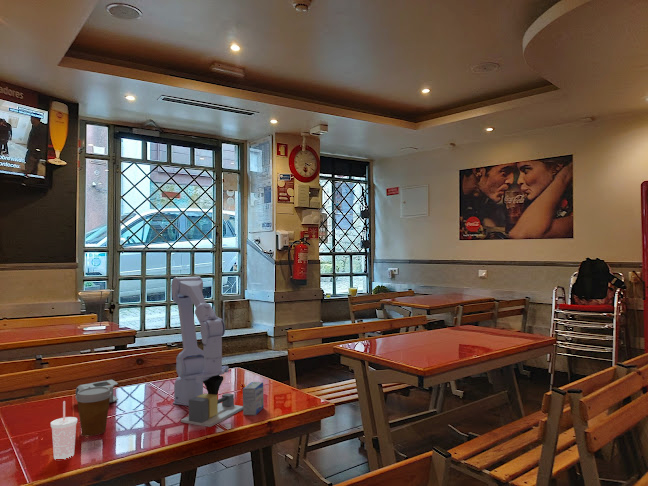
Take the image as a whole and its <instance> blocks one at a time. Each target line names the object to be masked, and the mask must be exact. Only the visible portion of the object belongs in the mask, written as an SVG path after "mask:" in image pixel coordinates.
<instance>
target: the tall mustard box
mask: <svg viewBox="0 0 648 486" xmlns="http://www.w3.org/2000/svg"><path fill="white" fill-rule="evenodd" d="M197 397H199V398H206V399H208V418H211V417H213V416H215V415H217V414H218V400H219V398H218V395H214V394H208V392H207V393H205V392H203V394H202V395H199V396H197Z"/></svg>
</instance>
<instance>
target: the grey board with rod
mask: <svg viewBox="0 0 648 486" xmlns="http://www.w3.org/2000/svg"><path fill="white" fill-rule="evenodd" d="M234 396H235V395H234V393H224V394H222V395H221V398H218V414H217V415H215V416H213V417H211V418H208V399H206V398H199V397H194V398H192V399H189V406H188V416H186V417H184V418H181V419H180V421H181V423H184V424H189V425H196V426H201V427H207V428H212V427H213V426H215V425H216V424H218V423H219V424H220V423H221V422H222V421H224V420H226V419H228V418H229V417H232V416H233V415H235V414H237V413H238V412H241V411H243V405H238V404H237V405H236V404H235V400H234V399H235V397H234Z"/></svg>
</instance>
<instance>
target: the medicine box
mask: <svg viewBox="0 0 648 486" xmlns="http://www.w3.org/2000/svg"><path fill="white" fill-rule="evenodd" d="M264 405H265V404H264V382H262V381H261V382H260V381H251V382H249V383H248V384H247V385H245V386H244V387H243V388H242V406H243V409H242V414H243V416H257V415H258V414H259V413H260V412H261V411H262V410H263V409H264V407H265V406H264Z"/></svg>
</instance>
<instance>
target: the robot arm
mask: <svg viewBox="0 0 648 486" xmlns="http://www.w3.org/2000/svg"><path fill="white" fill-rule="evenodd" d="M203 288H204V282H203V279H202V277H201V276H199V275H197V276H183V277H182V276H181V277H180V276H179V277H178V276H175V277H173V279H172V281H171V285H170V289H171V296H172V301H173V302H174V303H176V304H177V309H178V317H179V324H180V325H179V326H180V331H181V332H180V333H181V341H182V348H183V349H182V350H181V352H179V353H178V354H177V356H176V357H175V360H176V365H175V370H176V374H177V376H178V377H176V379H175V382H174V387H173V390H174V392H173V393H174V394H173V395H174V396H173V397H174V400H173V402H172V404H173V405H181V406H188V407H189V399H192V398H194V397H197V396H199V395H202V394H204V386H205V388H206V391H207V394H214V395H217V396H218V395H219V390H220V388H221V385H222V383H223V381H224V376H223V375H224V374H225V373H229V368H230V367H229V366H228V365H223V343H222V342H223V337H224V335H225V332H226V325H225V322H224V320H223V318H220V317H219V316H217V315H216V313H215V310H214V309H213V307H212V305H211V304H210V303H209V302H208V303H207V301H206V299H205V296H204V295H203V294H204V293H203V290H204V289H203ZM193 305H194V309H195V310H194V309H193ZM194 314H195V317H196V318H197V320H198V323H199V324H200V327H199V329H200V330H199V331H200V336H201V343H202V344H203V349H201V348H200V347H198V340H197V339H198V338H197V331H196V326H195V318H194Z"/></svg>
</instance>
